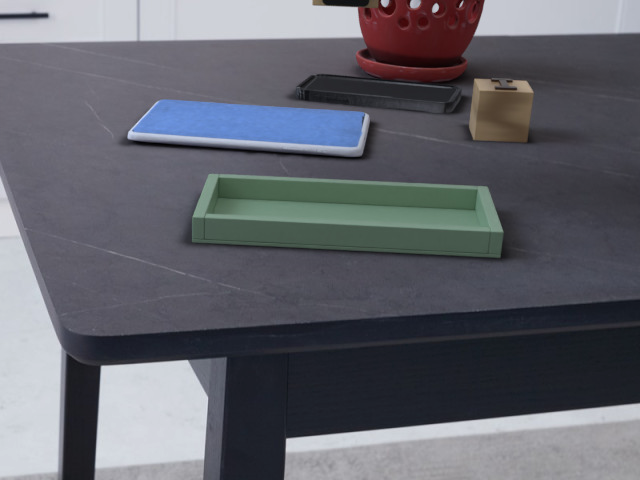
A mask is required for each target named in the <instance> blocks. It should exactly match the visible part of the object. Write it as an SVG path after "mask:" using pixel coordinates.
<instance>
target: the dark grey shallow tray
mask: <svg viewBox="0 0 640 480" xmlns="http://www.w3.org/2000/svg"><path fill="white" fill-rule="evenodd" d="M462 92H463V87H461V86H459V85H453V84H444V83H443V84H442V83H421V82H410V81H399V80H387V79H381V78H377V77H365V76H364V77H363V76H352V75H340V74H330V73H314V74H311V75H309V76H308V77H307V78H306V79H304V80H302V82H300V83H299V84H298V85H297V86H296V87H295V98H296V99H297V100H300V101H306V102H315V103H327V104H336V105H337V104H338V105H346V106H347V105H349V106H358V107H368V108H381V109H390V110H401V111H411V112H422V113H432V114H450V113H453V111H454V110H455V108H456V107H457V105H458V104H459V102H460V101H461V99H462Z"/></svg>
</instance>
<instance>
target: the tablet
mask: <svg viewBox="0 0 640 480" xmlns="http://www.w3.org/2000/svg"><path fill="white" fill-rule="evenodd" d="M370 123H371V120H370V115H369V114H368V113H366V112H363V111H355V110H337V109H321V108H320V109H319V108H303V107H290V106H289V107H287V106H272V105H257V104H255V105H254V104H241V103H240V104H239V103H223V102H212V101H194V100H181V99H165V98H163V99H160V100H157V101H156V102H155V103H154V104H153V105H152V106H151V107H150V109H149V110H147V111H146V113H145V114H143V116H142V117H141V118H140V119H139V120H138V121H137V123H135V124H134V125H133V126H132V127H131V128H130V130H128V132H127V139H128V140H130V141H134V142H143V143H157V144H167V145H180V146H191V147H204V148H216V149H228V150H229V149H230V150H244V151H257V152H258V151H259V152H272V153H285V154H300V155H301V154H302V155H313V156H314V155H315V156H328V157H342V158H359V157H362V156H363V154H364V150H365V146H366V141H367V138H368V132H369V128H370Z"/></svg>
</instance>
